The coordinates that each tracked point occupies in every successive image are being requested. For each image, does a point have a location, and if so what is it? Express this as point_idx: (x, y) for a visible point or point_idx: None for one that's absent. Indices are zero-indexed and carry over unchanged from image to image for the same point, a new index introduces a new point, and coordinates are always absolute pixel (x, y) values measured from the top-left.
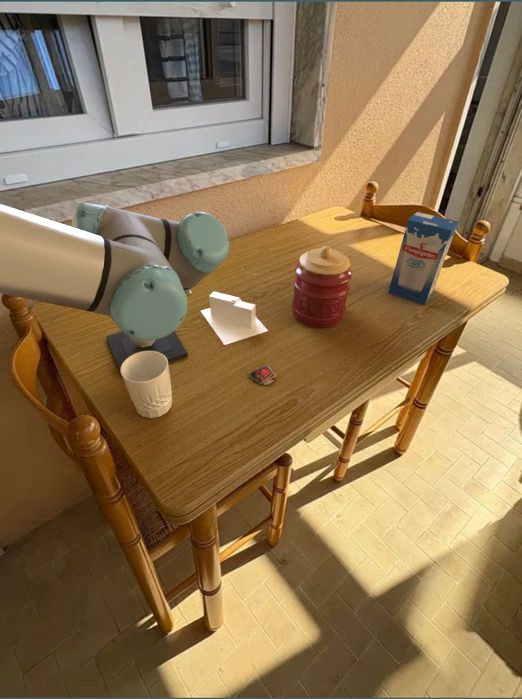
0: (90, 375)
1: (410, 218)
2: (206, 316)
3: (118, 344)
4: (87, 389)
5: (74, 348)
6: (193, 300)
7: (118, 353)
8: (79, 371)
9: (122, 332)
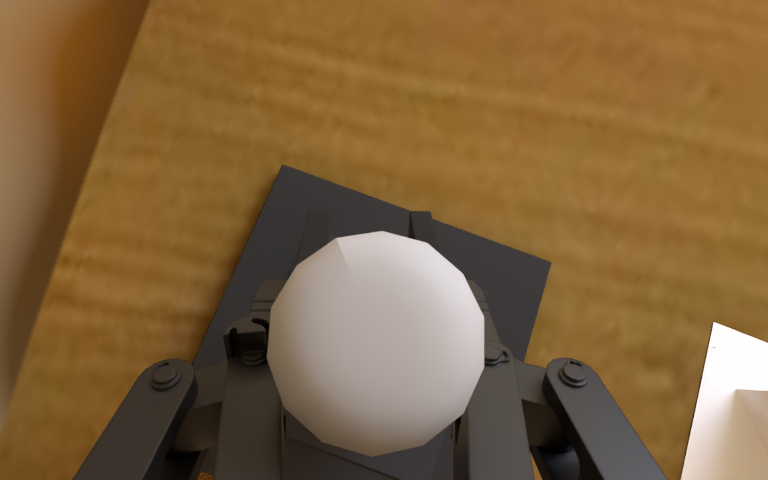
0: (87, 323)
1: None
2: (711, 383)
3: (281, 254)
4: (19, 392)
5: (160, 124)
6: (734, 231)
7: (241, 308)
8: (77, 265)
9: (346, 197)
